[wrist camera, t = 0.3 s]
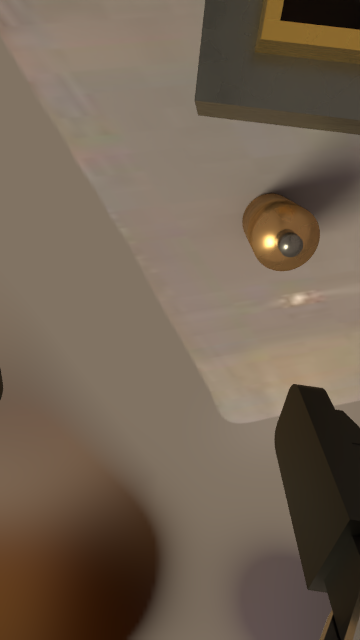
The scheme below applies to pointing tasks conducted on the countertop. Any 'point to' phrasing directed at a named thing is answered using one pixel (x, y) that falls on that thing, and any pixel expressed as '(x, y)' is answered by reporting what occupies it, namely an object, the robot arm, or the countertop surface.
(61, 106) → the countertop surface
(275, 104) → the grey boxy block
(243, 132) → the countertop surface
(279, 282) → the countertop surface
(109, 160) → the countertop surface
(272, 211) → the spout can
